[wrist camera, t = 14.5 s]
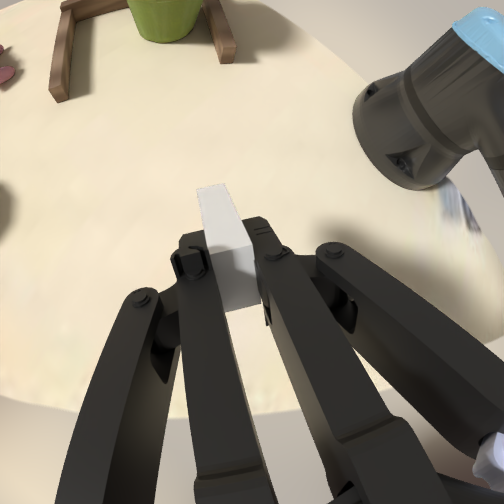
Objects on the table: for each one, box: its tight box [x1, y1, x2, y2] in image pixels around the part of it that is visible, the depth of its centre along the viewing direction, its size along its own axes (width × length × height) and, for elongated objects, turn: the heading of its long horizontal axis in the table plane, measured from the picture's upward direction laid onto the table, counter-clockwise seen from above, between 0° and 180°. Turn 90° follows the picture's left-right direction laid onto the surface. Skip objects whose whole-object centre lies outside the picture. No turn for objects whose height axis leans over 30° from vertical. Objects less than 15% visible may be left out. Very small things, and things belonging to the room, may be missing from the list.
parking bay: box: [48, 0, 237, 103], centre depth 26 cm, size 17×21×5 cm
